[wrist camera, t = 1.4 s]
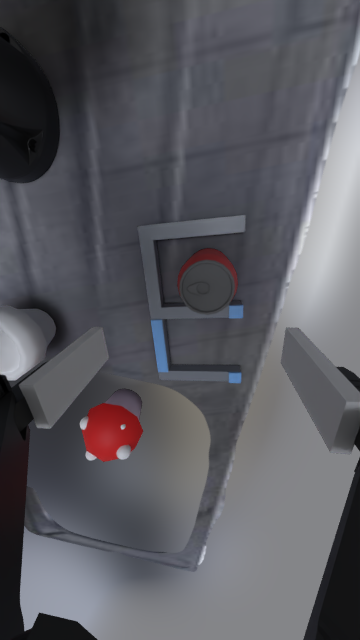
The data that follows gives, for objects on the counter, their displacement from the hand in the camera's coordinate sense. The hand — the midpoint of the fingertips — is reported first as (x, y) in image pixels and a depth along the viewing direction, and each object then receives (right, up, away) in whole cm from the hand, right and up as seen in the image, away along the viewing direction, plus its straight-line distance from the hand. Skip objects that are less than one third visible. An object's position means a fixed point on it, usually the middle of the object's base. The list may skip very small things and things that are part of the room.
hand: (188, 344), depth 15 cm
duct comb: (+2, +4, +19) cm, 19 cm away
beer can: (+4, +9, +17) cm, 19 cm away
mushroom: (-12, -15, +29) cm, 35 cm away
